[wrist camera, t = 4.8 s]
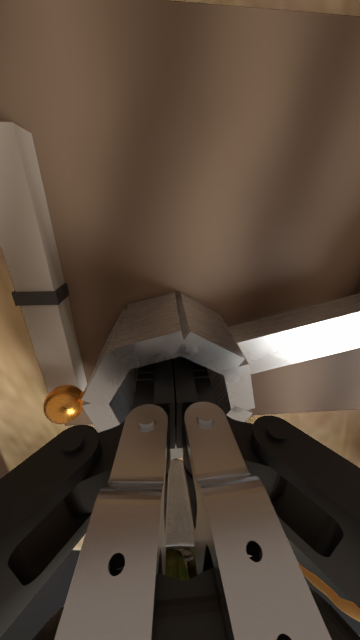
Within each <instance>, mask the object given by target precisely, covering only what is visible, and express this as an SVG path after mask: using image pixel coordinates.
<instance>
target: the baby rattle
mask: <svg viewBox="0 0 360 640" xmlns="http://www.w3.org/2000/svg"><path fill="white" fill-rule="evenodd" d="M359 347H360V286H359V289H358V292H357V294H355V295H351V296H347V297H343V298H339V299H336V300H332V301H328V302H324V303H320V304H316V305H312V306H308V307H305V308H301V309H297V310H293V311H289V312H285V313H281V314H277V315H274V316H270V317H266V318H262V319H258V320H254V321H250V322H246V323H243V324H239V325H235V326H231V327H228V326H227V325H226V323H225V321H224V319H223V318H222V317H221V315H220V314H219V313H217V312H216V311H214V310H212V309H210V308H208V307H206V306H205V305H203V304H201V303H199V302H197V301H195V300H194V299H192V298H190V297H188V296H186V295H184V294H182V293H180V294H179V296H178V298H177V299H176V295H175V292H172V293H168V294H165V295H161V296H157V297H153V298H150V299H146V300H142V301H138V302H135V303H131V304H128V306H127V309H125V308H123V310H122V312H121V314H120V316H119V317H118V319H117V321H116V323H115V325H114V327H113V329H112V331H111V333H110V335H109V336H108V338H107V340H106V342H105V344H104V347H103V349H102V351H101V354H100V356H99V359H98V361H97V363H96V366H95V368H94V371H93V373H92V375H91V378H90V380H89V383H88V385H87V387H86V390H85V391H83V392H82V390H81V389H80V388H78V387H77V386H74V385H70V384H66V385H61V386H58V387H56V388H54V389H53V390H52V391H51V392H50V393H49V394H48V395H47V397H46V399H45V401H44V406H43V408H44V413H45V416H46V417H47V418H48V419H49V420H50V421H51V422H53V423H56V424H66V423H69V422H72V421H73V420H75V419H76V418H77V417H78V416H79V415H80V414H81V413H82V411H83V409H84V410H85V412H86V414H87V415H88V417H89V418H90V420H91V421H92V423H93V424H94V426H95V428H96V429H97V431H98V432H102V431H105V430H108V429H111V428H113V427H116V426H118V425H119V424H121V423H122V422H124V421H125V419H126V417H127V415H128V414H129V413H130V412H131V411H132V408H133V402H134V395H135V389H136V382H137V376H138V375H137V374H135V372H134V369H133V368H137V367H141V366H145V365H149V364H153V363H157V362H161V361H165V360H168V359H172V358H176V357H180V356H182V357H184V358H186V359H188V360H191V361H193V362H195V363H197V364H200V365H202V366H204V367H206V368H207V371H208V373H209V378H210V380H211V384H212V387H213V391H214V394H215V398H216V401H217V404H218V407H220V408H221V409H222V410H223V412H224V413H225V415H227V416H228V417H230V418H232V419H234V420H237V421H241V422H245V421H246V420H247V419H248V418H249V417H250V416H251V415H252V414H253V412H252V410H251V409H253V408H255V403H254V396H253V389H252V382H251V375H250V374H254V373H258V372H262V371H266V370H270V369H274V368H279V367H283V366H287V365H291V364H295V363H299V362H303V361H307V360H311V359H315V358H319V357H323V356H327V355H331V354H335V353H339V352H343V351H347V350H351V349H355V348H359ZM170 452H171V460H173V459H177V458H181V457H183V450H182V448H177V447H176V431H175V449H170Z"/></svg>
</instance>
